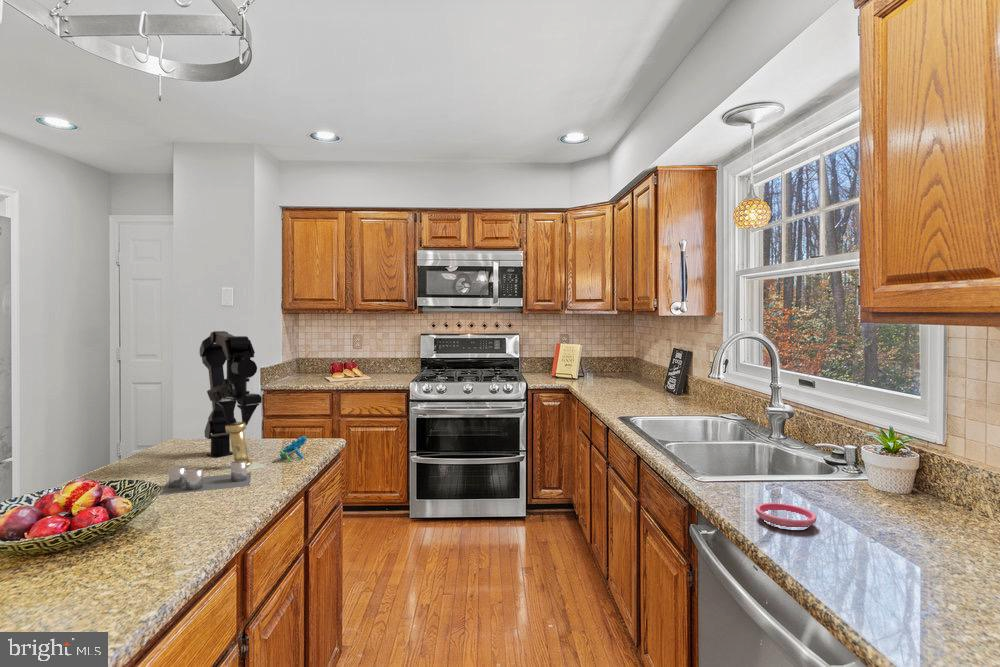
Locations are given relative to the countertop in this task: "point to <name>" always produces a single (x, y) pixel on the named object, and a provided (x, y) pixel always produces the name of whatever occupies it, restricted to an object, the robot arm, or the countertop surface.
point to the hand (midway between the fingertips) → (236, 424)
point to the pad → (249, 467)
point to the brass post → (238, 441)
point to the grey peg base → (205, 479)
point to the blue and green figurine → (293, 448)
